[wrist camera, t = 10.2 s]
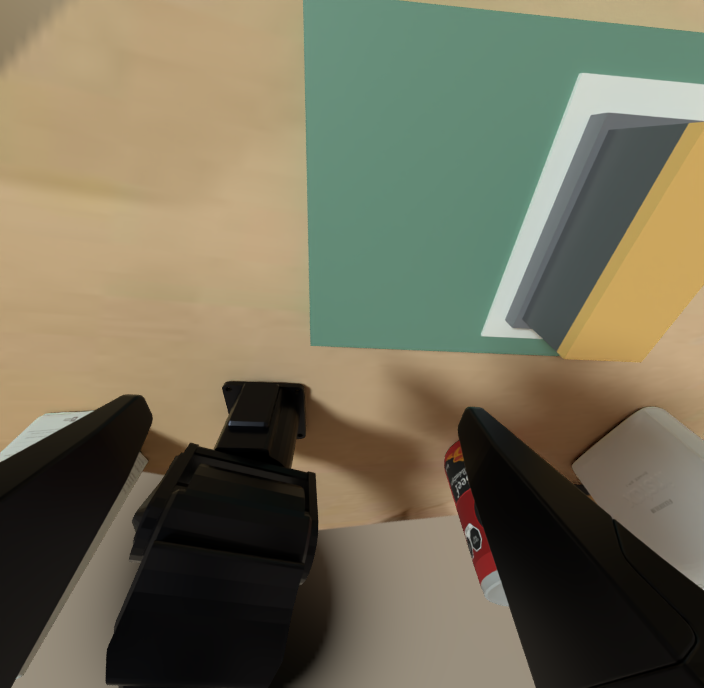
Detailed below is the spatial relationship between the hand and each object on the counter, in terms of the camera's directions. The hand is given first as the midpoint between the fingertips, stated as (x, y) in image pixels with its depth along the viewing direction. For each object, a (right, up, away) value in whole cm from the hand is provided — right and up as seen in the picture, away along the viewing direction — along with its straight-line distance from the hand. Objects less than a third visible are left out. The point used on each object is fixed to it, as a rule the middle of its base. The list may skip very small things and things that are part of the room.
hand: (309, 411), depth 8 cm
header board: (+9, +9, +9) cm, 15 cm away
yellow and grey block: (+14, +7, +7) cm, 17 cm away
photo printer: (+28, -8, +21) cm, 35 cm away
